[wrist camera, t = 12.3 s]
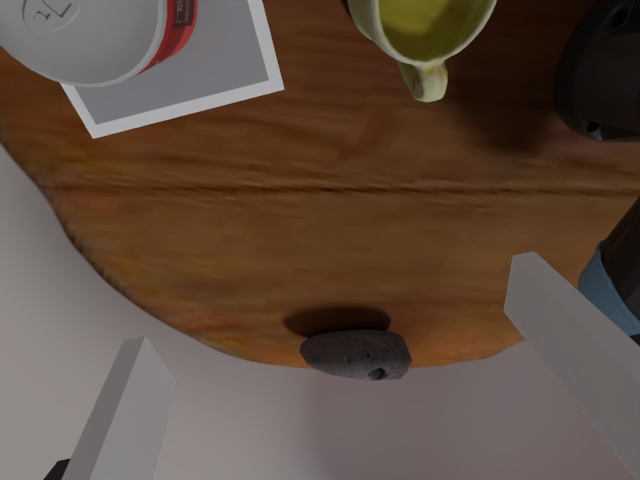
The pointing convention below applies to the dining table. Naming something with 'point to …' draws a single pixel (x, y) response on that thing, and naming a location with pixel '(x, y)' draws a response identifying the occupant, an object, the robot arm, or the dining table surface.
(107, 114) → the tray
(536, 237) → the dining table surface
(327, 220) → the dining table surface
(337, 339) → the perforated stone tool
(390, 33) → the mug
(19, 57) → the canned food
